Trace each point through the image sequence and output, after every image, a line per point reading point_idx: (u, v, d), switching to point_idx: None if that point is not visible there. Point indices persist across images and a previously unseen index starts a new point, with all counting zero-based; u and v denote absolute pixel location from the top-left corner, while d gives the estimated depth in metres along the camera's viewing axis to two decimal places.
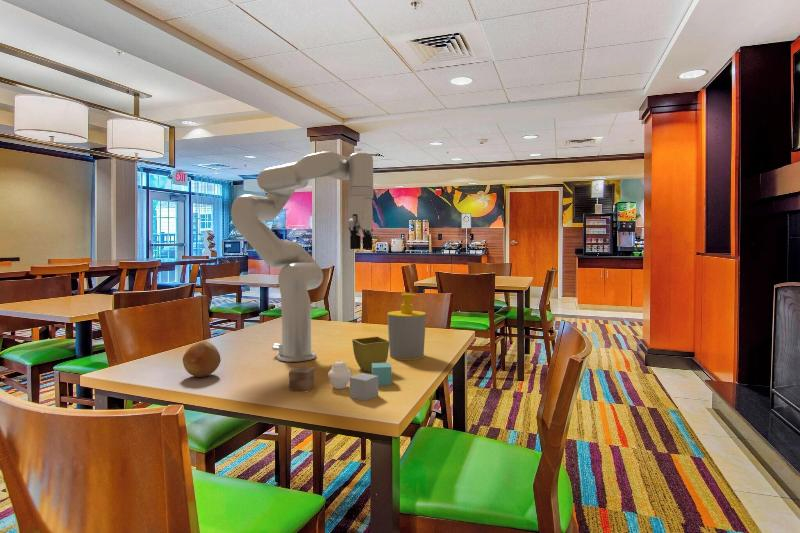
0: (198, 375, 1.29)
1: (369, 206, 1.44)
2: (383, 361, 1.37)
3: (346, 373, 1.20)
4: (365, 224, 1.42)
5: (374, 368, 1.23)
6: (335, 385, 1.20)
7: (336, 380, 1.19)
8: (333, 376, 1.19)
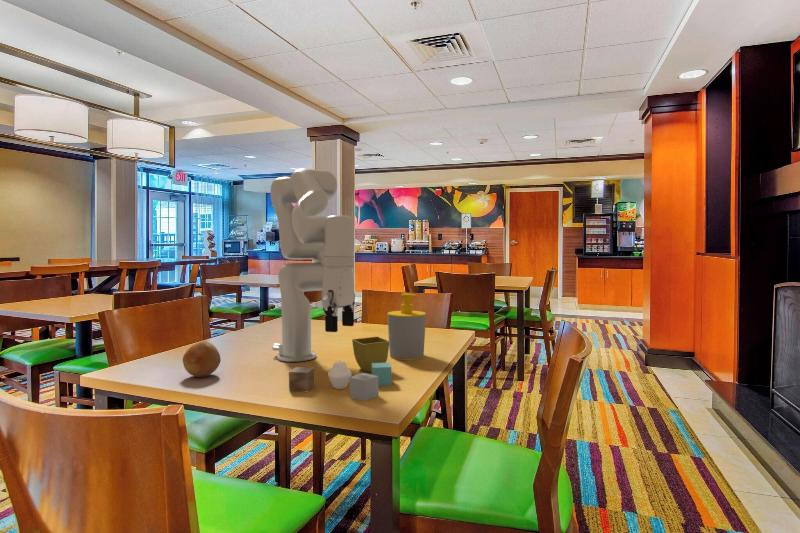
0: (198, 375, 1.29)
1: (349, 278, 1.20)
2: (383, 361, 1.37)
3: (346, 373, 1.20)
4: (343, 300, 1.18)
5: (374, 368, 1.23)
6: (335, 385, 1.20)
7: (336, 380, 1.19)
8: (333, 376, 1.19)
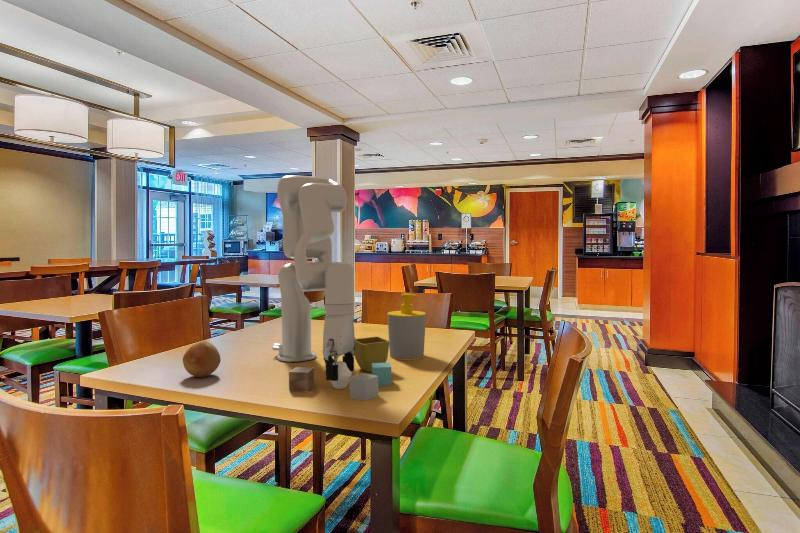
0: (198, 375, 1.29)
1: (349, 325, 1.21)
2: (383, 361, 1.37)
3: (346, 373, 1.20)
4: (344, 348, 1.18)
5: (374, 368, 1.23)
6: (335, 385, 1.20)
7: None
8: None
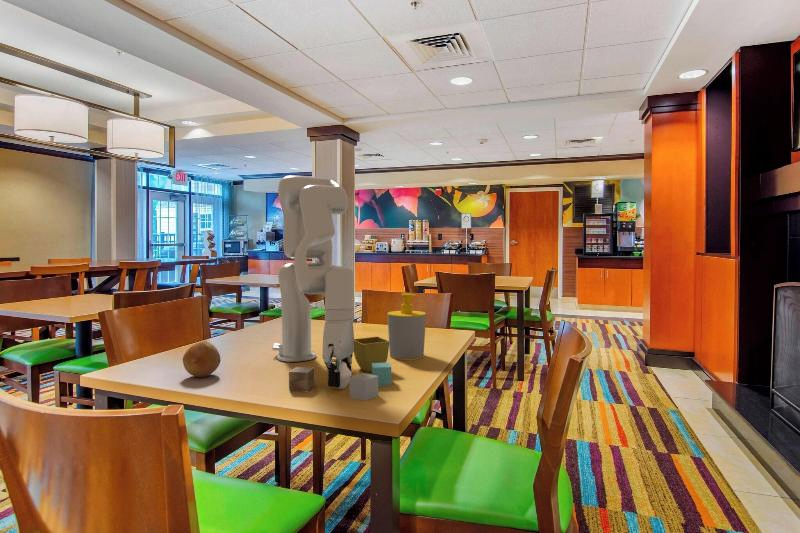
0: (198, 375, 1.29)
1: (349, 330, 1.21)
2: (383, 361, 1.37)
3: (346, 373, 1.20)
4: (343, 353, 1.19)
5: (374, 368, 1.23)
6: None
7: None
8: None
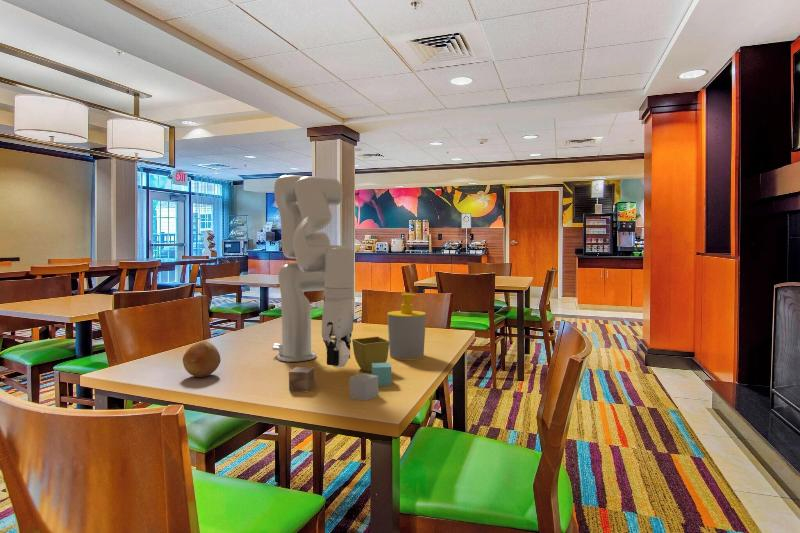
0: (198, 375, 1.29)
1: (348, 309, 1.21)
2: (383, 361, 1.37)
3: (345, 352, 1.20)
4: (342, 332, 1.19)
5: (374, 368, 1.23)
6: None
7: None
8: None
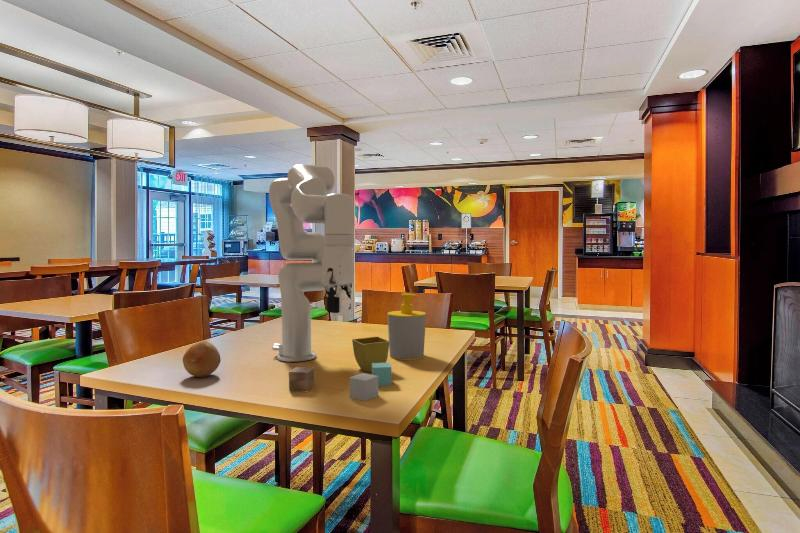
0: (198, 375, 1.29)
1: (348, 257, 1.20)
2: (383, 361, 1.37)
3: (346, 299, 1.19)
4: (343, 279, 1.18)
5: (374, 368, 1.23)
6: None
7: None
8: None
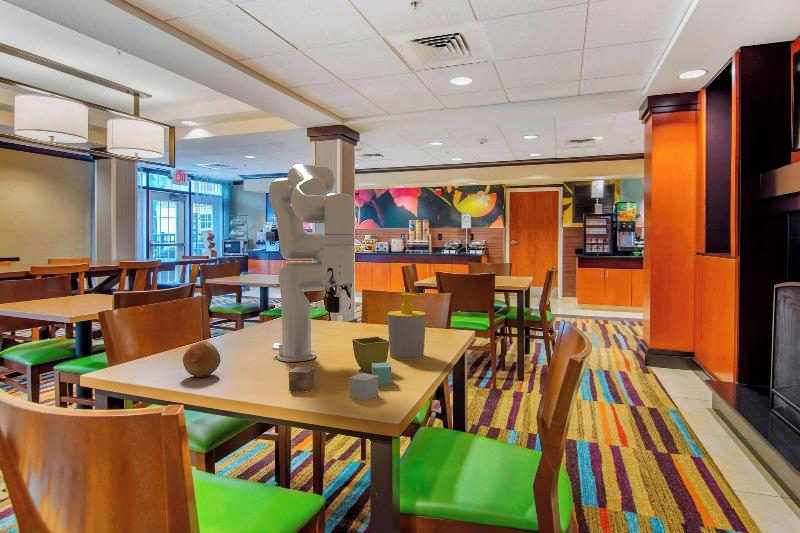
0: (198, 375, 1.29)
1: (348, 256, 1.20)
2: (383, 361, 1.37)
3: (346, 299, 1.19)
4: (343, 279, 1.18)
5: (374, 368, 1.23)
6: None
7: None
8: None
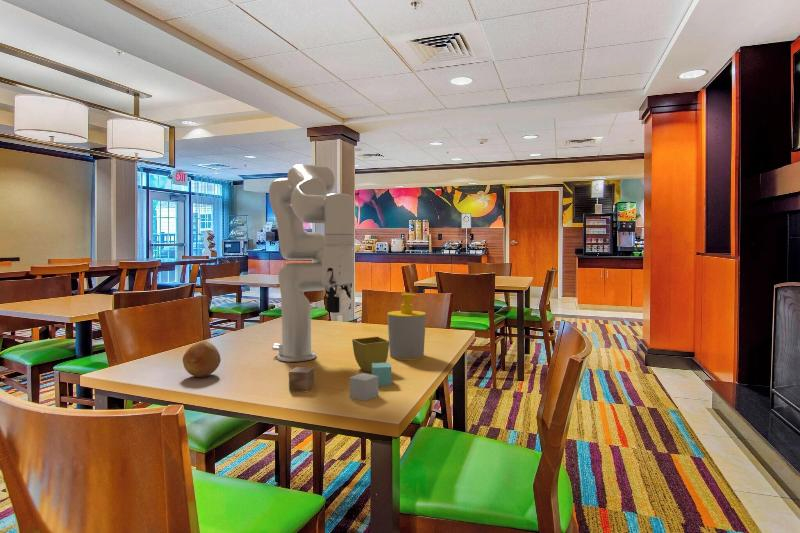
0: (198, 375, 1.29)
1: (348, 256, 1.20)
2: (383, 361, 1.37)
3: (346, 299, 1.19)
4: (343, 279, 1.18)
5: (374, 368, 1.23)
6: None
7: None
8: None
